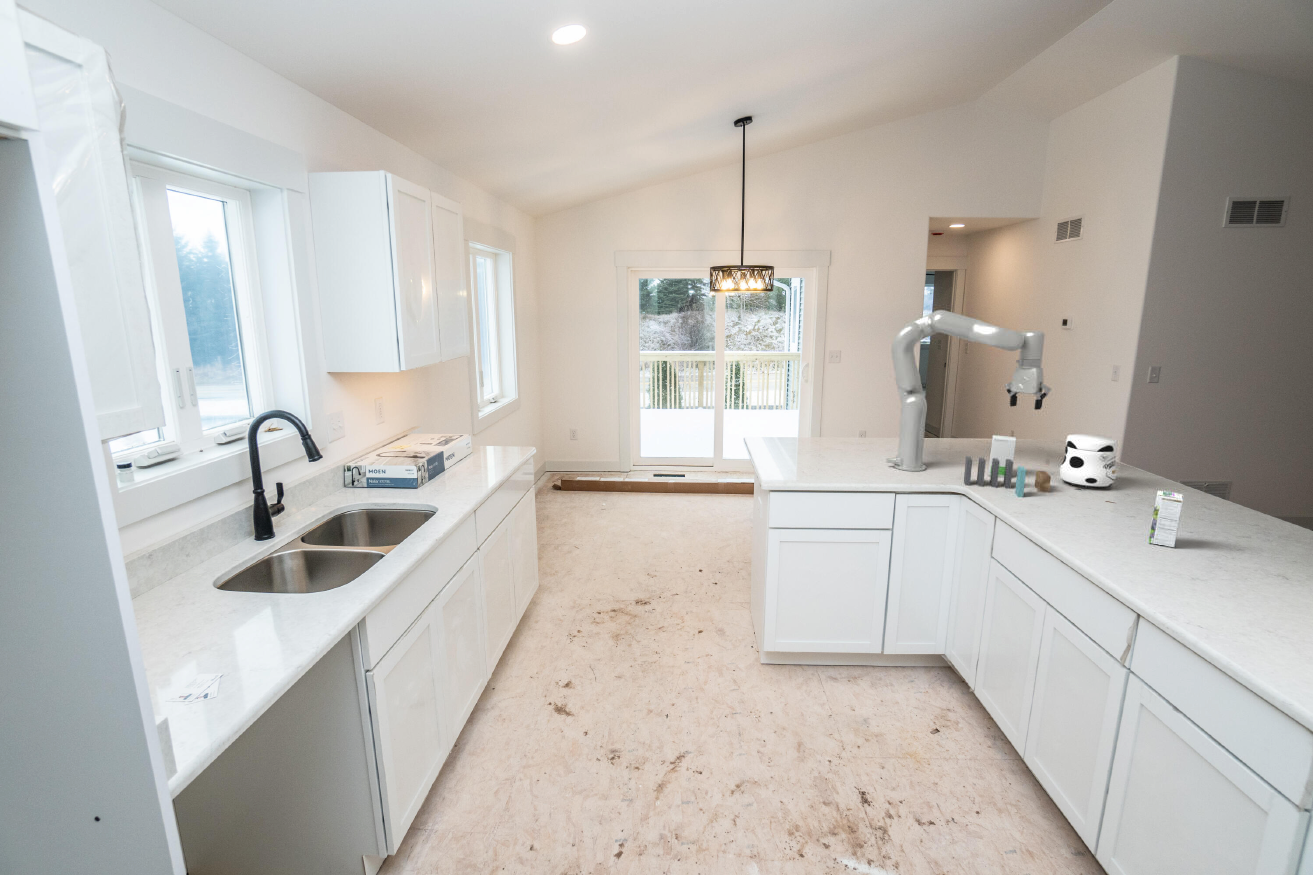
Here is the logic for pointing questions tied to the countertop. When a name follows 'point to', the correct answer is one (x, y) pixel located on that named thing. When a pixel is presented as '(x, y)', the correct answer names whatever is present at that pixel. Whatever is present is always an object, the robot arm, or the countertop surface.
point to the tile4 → (1008, 473)
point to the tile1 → (967, 470)
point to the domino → (1020, 481)
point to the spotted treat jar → (1089, 461)
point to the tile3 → (994, 472)
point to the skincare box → (1002, 452)
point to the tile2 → (981, 471)
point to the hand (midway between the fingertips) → (1025, 407)
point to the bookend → (1042, 481)
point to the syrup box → (1166, 518)
